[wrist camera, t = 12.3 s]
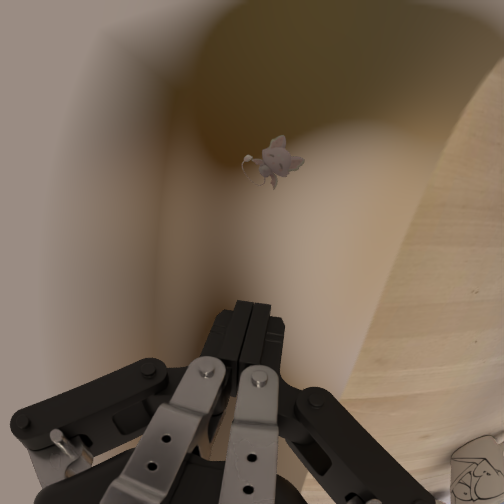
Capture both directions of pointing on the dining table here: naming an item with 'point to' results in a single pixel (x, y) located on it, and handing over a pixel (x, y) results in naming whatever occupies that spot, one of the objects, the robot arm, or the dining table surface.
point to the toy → (276, 160)
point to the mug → (478, 473)
